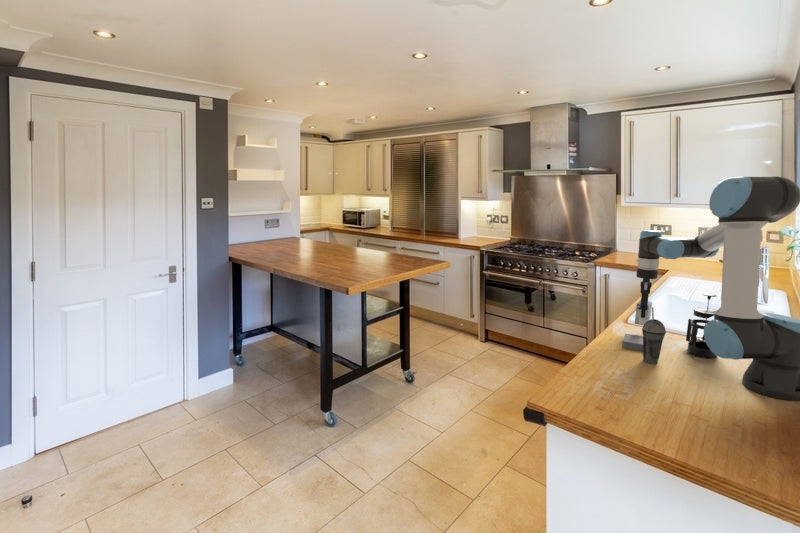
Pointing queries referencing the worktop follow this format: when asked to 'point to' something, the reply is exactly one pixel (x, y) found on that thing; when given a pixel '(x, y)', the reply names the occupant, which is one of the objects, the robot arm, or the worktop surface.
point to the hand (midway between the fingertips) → (642, 321)
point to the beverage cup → (652, 339)
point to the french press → (698, 342)
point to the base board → (633, 342)
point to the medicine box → (639, 311)
